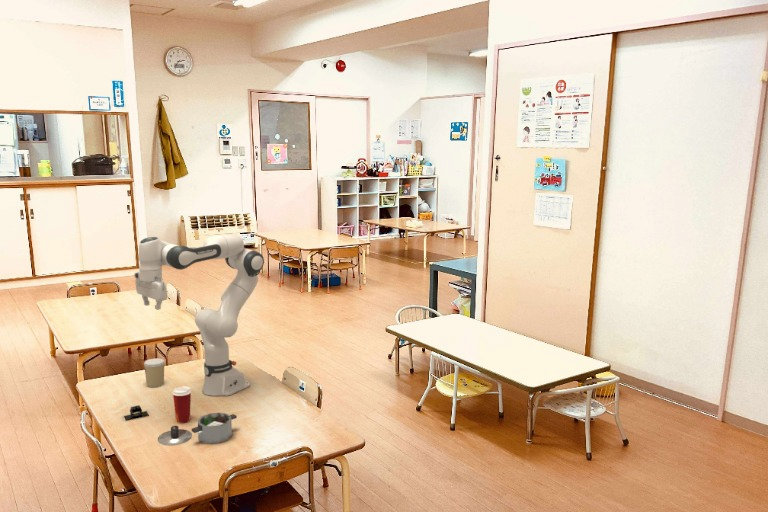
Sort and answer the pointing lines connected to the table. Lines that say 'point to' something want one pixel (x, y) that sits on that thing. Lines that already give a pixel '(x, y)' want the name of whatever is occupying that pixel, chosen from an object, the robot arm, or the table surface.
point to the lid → (174, 436)
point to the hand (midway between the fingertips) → (152, 307)
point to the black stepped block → (136, 415)
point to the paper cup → (182, 403)
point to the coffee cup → (154, 372)
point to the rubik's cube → (215, 423)
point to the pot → (214, 428)
